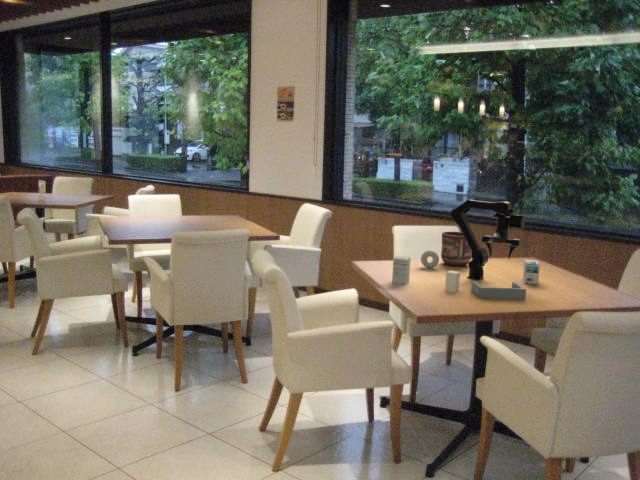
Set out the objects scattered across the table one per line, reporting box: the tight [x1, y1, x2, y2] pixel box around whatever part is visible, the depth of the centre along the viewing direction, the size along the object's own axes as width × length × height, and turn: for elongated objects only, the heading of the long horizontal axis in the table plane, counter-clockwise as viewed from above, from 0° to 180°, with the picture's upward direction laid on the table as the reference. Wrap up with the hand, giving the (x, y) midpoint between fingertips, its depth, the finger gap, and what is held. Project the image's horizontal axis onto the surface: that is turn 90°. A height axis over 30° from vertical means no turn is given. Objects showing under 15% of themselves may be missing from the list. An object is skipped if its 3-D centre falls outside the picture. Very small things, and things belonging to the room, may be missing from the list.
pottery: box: [440, 231, 472, 267], centre depth 360 cm, size 18×18×18 cm
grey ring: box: [420, 250, 440, 269], centre depth 348 cm, size 10×3×10 cm, turn 70°
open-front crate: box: [470, 280, 527, 301], centre depth 292 cm, size 14×21×5 cm, turn 93°
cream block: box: [444, 269, 461, 293], centre depth 298 cm, size 5×5×9 cm
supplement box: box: [391, 255, 411, 285], centre depth 310 cm, size 7×7×13 cm
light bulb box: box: [522, 259, 541, 285], centre depth 323 cm, size 11×7×11 cm, turn 168°
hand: (500, 257), depth 318 cm, fingers open, 9 cm apart
